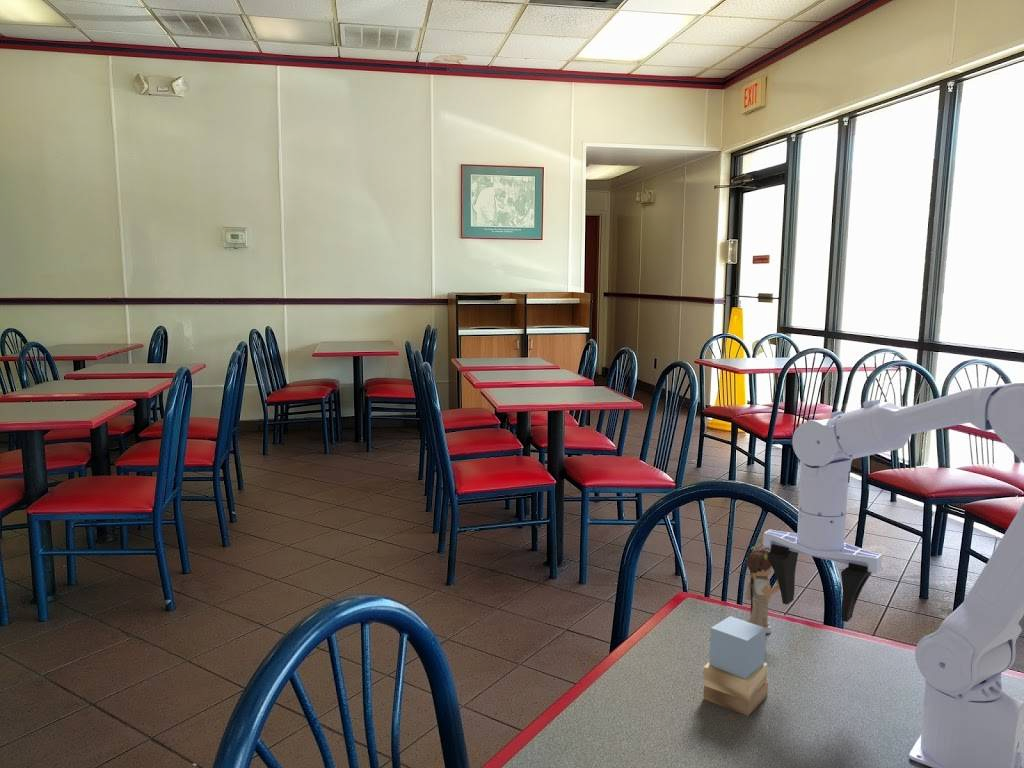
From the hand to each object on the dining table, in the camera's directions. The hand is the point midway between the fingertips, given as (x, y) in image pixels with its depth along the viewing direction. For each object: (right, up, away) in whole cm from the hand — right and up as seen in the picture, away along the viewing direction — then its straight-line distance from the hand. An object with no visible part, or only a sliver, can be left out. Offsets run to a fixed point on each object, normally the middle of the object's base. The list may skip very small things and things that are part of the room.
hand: (816, 610), depth 98 cm
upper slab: (-11, -9, -2) cm, 15 cm away
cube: (-11, -6, -3) cm, 13 cm away
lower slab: (-11, -11, -2) cm, 16 cm away
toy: (-1, -8, +17) cm, 19 cm away
